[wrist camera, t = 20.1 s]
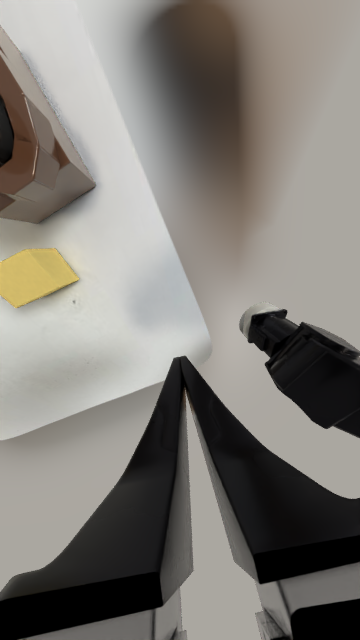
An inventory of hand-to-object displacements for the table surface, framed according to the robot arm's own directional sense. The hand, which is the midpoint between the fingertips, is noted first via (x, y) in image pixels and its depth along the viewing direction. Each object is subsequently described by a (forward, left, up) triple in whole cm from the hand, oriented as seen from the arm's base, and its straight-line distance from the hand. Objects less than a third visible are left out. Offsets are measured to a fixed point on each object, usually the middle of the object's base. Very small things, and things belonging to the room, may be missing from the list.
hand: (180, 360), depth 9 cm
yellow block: (+15, -6, -13) cm, 21 cm away
